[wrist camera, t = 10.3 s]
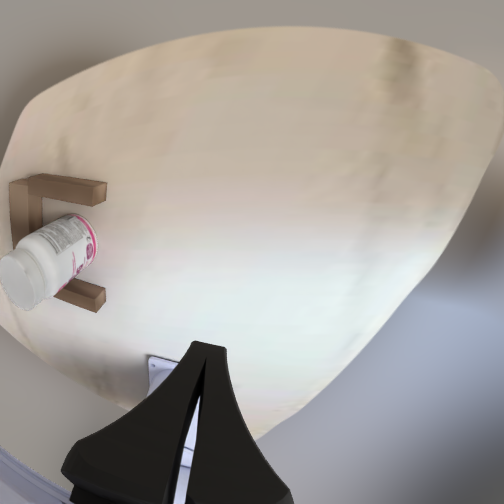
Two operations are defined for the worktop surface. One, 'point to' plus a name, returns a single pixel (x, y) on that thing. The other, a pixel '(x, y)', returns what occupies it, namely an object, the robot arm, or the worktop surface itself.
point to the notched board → (30, 219)
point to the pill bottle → (47, 260)
